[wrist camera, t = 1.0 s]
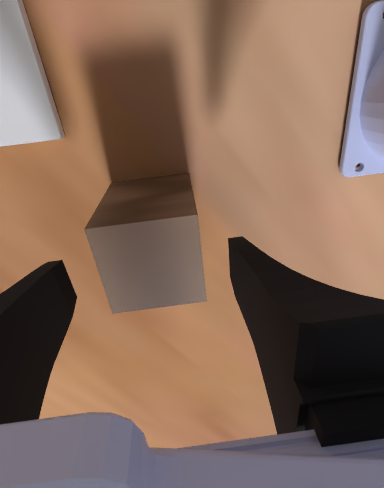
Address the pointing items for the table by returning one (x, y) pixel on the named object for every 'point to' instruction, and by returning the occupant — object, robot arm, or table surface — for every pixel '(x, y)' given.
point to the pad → (23, 83)
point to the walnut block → (148, 244)
